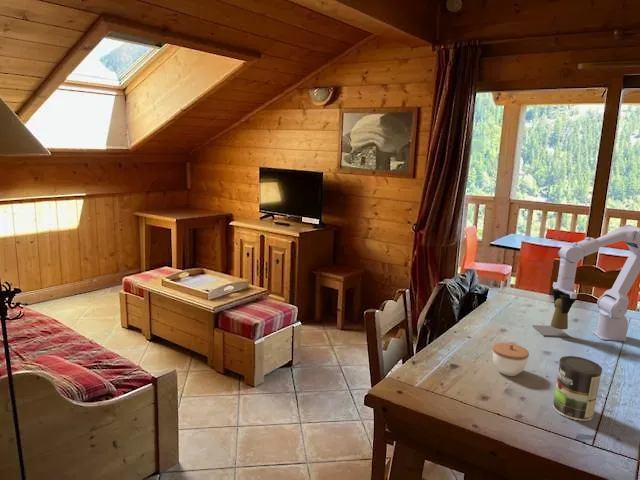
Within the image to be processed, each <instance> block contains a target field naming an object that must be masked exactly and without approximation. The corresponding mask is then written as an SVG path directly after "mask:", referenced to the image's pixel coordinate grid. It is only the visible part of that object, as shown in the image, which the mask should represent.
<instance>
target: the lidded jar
mask: <svg viewBox="0 0 640 480" xmlns="http://www.w3.org/2000/svg"><path fill="white" fill-rule="evenodd" d="M529 353H530V352H529V351H528V349H526V347H524V346H521V345H519V344H516V343H513V342H512V343H510V342H497V343H494V344H493V346H492V361H493V364H494V367H495V368H496V370H497V371H498V372H499V373H500V374H502V375H505V376H509V377H515V376H518V375H519V374H520V373H522V372H524V370H525V368H526V367H527V364H528V360H529V359H528V358H529Z"/></svg>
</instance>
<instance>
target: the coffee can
mask: <svg viewBox="0 0 640 480" xmlns="http://www.w3.org/2000/svg"><path fill="white" fill-rule="evenodd" d="M602 373H603V368H602V366H601V365H599V363H597V362H595V361H593V360H590V359H587V358H584V357H581V356H575V355H567V356H566V355H564V356H562V357H560V358H559V366H558V371H557V377H556V385H555V390H554V395H553V401H552V409H553V410H554V411H555V412H556V413H558V414H559V415H560V414H561V415H560V416H562V415H563V416H562V417H564V416H565V418H566V417H567V419H569V418H570V419H569V420H572V419H574V420H573V421H576V420H579V421H578V422H589V421H592V420H593V419H594V414H595V407H596V402H597V397H598V391H599V387H600V381H601V375H602ZM588 420H589V421H588Z"/></svg>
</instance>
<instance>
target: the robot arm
mask: <svg viewBox="0 0 640 480" xmlns="http://www.w3.org/2000/svg"><path fill="white" fill-rule="evenodd" d="M618 242H624V243H625V244H626V246H628V249H629V250H630V251H629V252H630V253H629V254H628V257H627V259H626V261H625V262H624V264H623V266H622V268H621V270H620V272H619V274H618V275H617V277H616V280H615V281H614V283H613V285H612V287H611V288H610V289H607V290H605V291H604V293H603V294H602V295H601V296H599V297H598V298H597V299H598V300H597V301H596V305H597V308H598V309H599V310H598V311H599V314H598V321H597V325H596V326H597V327H596V330H591V331H590V332H591V333H592V334H593V335H595V336H596V337H598V338H599V339H600V340H603V341H604V340H605V341H623V342H624V341H627V339H626V336H627V332H628V327H629V323H628V318H627V317H626V314H627V312H628V306H629V304H630V300H629V297H628V293H629V292H630V290H631V288H632V286H633V285H634V282H635V281H636V279H637V277H638V275H639V274H640V227H638V226H635V225H632V224H625V225H624V226H620V227H618V228H617V229H616V230H614V231H611V232H609V233H606V234H605V235H602V236H599V237H597V238H594V237H589V236H587V237H584V239H583V240H580V241H577V242H576V241H574V242H572V244H564V245H562V246H561V248H560V249H559V250H558V251H557V252H558V253H557V254H558V257H560V259H559V268H558V276H557V281H553V283H552V287H553V288H552V289H551V290H550V291H551V294H552V297H553V303H554V304H553V305H554V308H556V306H555V301H556V300H557V299H561V301H562V313H567V314H569V312H570V310H571V308H572V305H573V304H574V303H575V302H576V301H577V300H578V297H577V296H578V293H576V291H575V289H574V286H575V279H576V275H577V274H576V273H577V268H578V262H580V261H581V260H582V258H584V257H586V256H590V255H592V254H594V253H597V252H599V250H600V248H602V247H605V246H609V245H612V244H615V243H618Z"/></svg>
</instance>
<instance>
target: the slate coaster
mask: <svg viewBox="0 0 640 480" xmlns="http://www.w3.org/2000/svg"><path fill="white" fill-rule="evenodd" d="M532 328H534V329H535V331H536V332H538V333H539V334H540V335H541V336H542V337H543V338H567V339H568V338H570V337H571V336H570V335H569V334H568V333H566V332H565V330H564V329H557V328H554V327H552V326H551V325H540V324H539V325H537V324H536V325H535V324H532Z"/></svg>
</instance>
